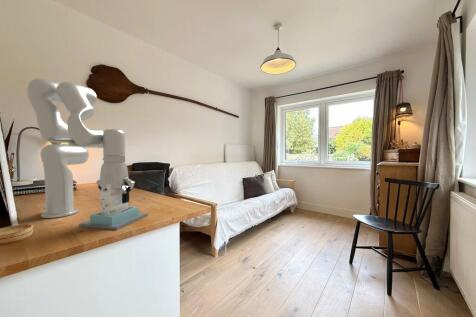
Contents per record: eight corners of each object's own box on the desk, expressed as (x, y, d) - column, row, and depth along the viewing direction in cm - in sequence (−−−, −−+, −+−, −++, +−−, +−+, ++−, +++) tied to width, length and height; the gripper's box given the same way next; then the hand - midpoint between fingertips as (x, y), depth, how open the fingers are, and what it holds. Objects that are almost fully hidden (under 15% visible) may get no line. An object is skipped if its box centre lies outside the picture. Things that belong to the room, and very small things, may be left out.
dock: (79, 226, 77) (78, 215, 77) (115, 213, 94) (115, 204, 94) (116, 230, 73) (116, 219, 73) (147, 215, 90) (147, 206, 90)
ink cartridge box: (121, 214, 89) (120, 180, 88) (128, 215, 86) (127, 181, 86) (100, 220, 81) (99, 183, 80) (107, 222, 79) (106, 184, 78)
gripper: (88, 160, 81) (89, 203, 82) (125, 160, 77) (126, 205, 78) (104, 159, 88) (105, 199, 89) (139, 159, 84) (140, 201, 85)
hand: (115, 202), depth 83 cm, fingers open, 9 cm apart
